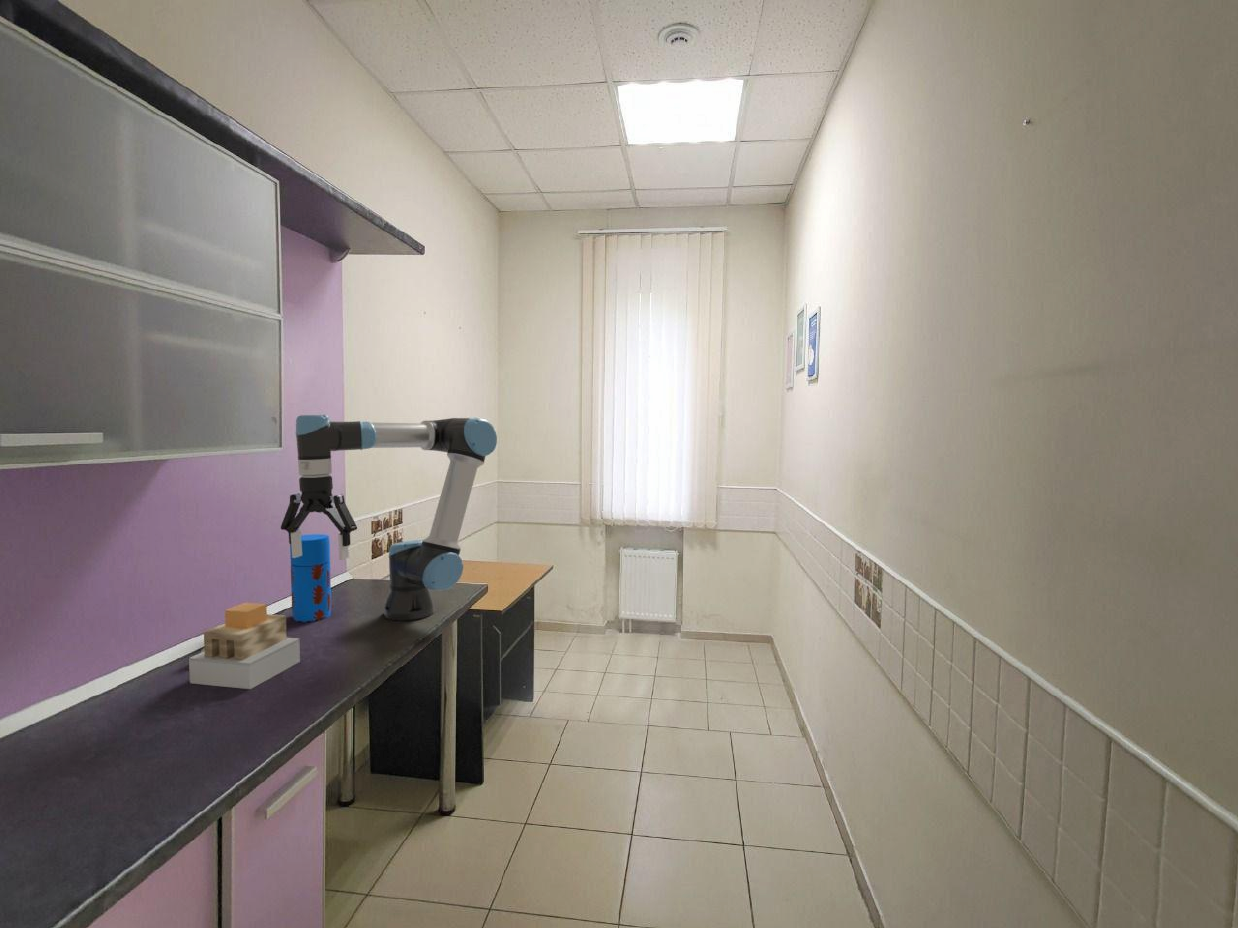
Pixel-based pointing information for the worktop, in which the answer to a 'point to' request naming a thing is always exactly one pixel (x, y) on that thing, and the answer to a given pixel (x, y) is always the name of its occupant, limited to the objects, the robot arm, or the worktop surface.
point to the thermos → (311, 579)
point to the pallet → (244, 638)
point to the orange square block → (245, 615)
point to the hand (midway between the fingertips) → (320, 557)
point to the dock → (244, 666)
